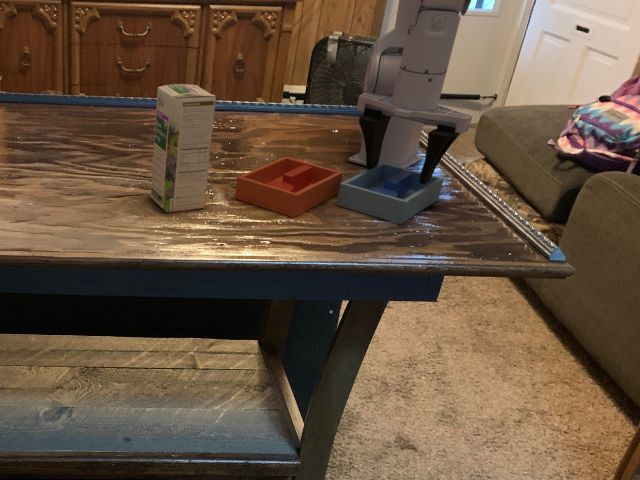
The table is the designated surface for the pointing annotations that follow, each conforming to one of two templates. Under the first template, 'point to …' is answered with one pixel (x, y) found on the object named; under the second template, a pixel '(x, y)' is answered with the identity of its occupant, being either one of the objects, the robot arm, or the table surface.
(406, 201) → the blue bin
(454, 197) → the table surface
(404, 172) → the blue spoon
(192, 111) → the syrup box
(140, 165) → the table surface
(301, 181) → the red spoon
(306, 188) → the red bin
